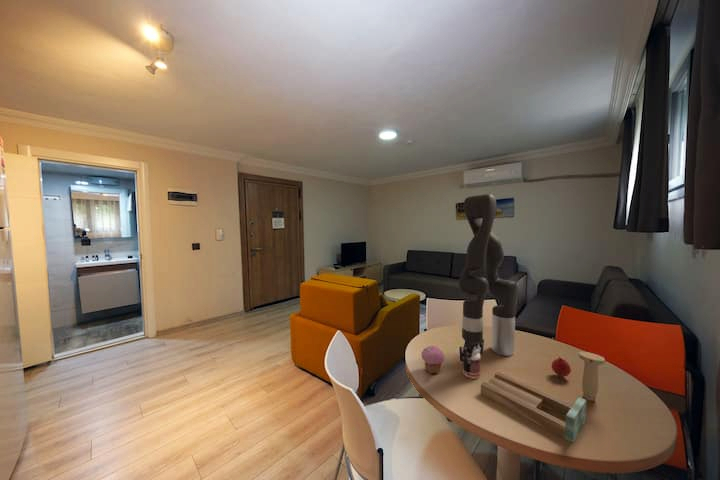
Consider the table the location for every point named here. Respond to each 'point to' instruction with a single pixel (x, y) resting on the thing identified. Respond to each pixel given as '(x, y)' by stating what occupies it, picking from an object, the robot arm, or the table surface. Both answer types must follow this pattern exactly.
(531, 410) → the channel board
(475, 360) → the pill bottle
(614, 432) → the table surface
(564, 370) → the onion
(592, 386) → the handle
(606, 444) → the table surface
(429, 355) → the cupcake
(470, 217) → the robot arm
